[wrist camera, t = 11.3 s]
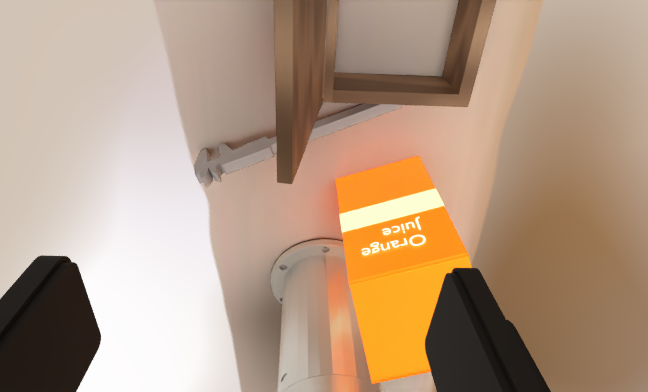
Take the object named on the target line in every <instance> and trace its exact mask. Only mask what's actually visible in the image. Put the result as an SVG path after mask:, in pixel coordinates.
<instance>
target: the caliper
mask: <svg viewBox="0 0 648 392" xmlns="http://www.w3.org/2000/svg"><path fill="white" fill-rule="evenodd" d="M399 108H401V105H393V104H362V105H359V106H356V107H354V108H351V109H348V110H346V111H343V112H340V113H338V114H335V115H332V116H329V117H327V118H324V119H321V120H318V121H316V122H315V124H314V127H313V129H312V132H311V135H310V137H309V140H308V142H309V141H312V140H315V139H317V138H320V137H323V136H326V135H328V134H331V133H334V132H337V131H339V130H342V129H345V128H347V127H350V126H353V125H356V124H358V123H361V122H364V121H366V120H369V119H372V118H374V117H377V116H380V115H383V114H385V113H388V112H391V111H393V110H396V109H399ZM218 150H219V155H220V157H218V158H215V159H212V160H211V158H210V155H209V153H208V151H207V149H206V148H205V149H203V150H201V151H200V153H199V155H198V158H197V160H196V162H195V165H194V168H195V175H196V177H197V179H198V180H199V182H200V183H203V182H204V183H205V185H206V187H208V186H209V185H210V184H211V182H212V181H213V177H214V179H215V180H216V181H218V182H221V177H220V176H221V175H222V173H225V174H229V173H232V172H235V171H237V170H240V169H243V168H245V167H248V166H251V165H253V164H256V163H259V162H261V161H264V160H266V159H269V158H272V157H274V154H277V139H276V136H275V137H272V138H269V139H268V138H267V136H265V137H262V138H260V139H258V140H256V141H251V142H249V143H247V144H245V145H243V146H241V147H240V148H238V149H235V150H232V149H231V148H229V147H228V146H227V145H226V144H224V143H221V144H219V147H218Z"/></svg>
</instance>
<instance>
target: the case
mask: <svg viewBox="0 0 648 392" xmlns="http://www.w3.org/2000/svg"><path fill="white" fill-rule="evenodd" d="M495 4H496V0H459V3H458V8H457V12H456V17H455V21H454V26H453V31H452V35H451V40H450V44H449V49H448V53H447V58H446V63H445V67H444V72H443V76H442V77H438V76H412V75H385V74H358V73H334V68H335V53H336V37H337V22H338V7H339V0H274V32H275V85H276V139H277V182H278V183H287V184H292V183H293V180H294V177H295V175H296V172H297V169H298V167H299V164H300V161H301V159H302V156H303V153H304V151H305V148H306V145H307V143H308V140H309V137H310V135H311V132H312V129H313V127H314V124H315V121H316V119H317V116H318V113H319V111H320V108H321V105H322V102H332V103H363V104H393V105H424V106H454V107H468V105H469V101H470V97H471V94H472V90H473V86H474V82H475V79H476V75H477V71H478V67H479V64H480V60H481V56H482V52H483V49H484V45H485V41H486V37H487V34H488V30H489V26H490V22H491V19H492V15H493V11H494V7H495Z"/></svg>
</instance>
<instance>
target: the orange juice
mask: <svg viewBox="0 0 648 392" xmlns="http://www.w3.org/2000/svg"><path fill="white" fill-rule="evenodd" d="M336 186H337V194H338V202H339V210H340V222H341V230H342V234H343V241H344V249H345V257H346V265H347V273H348V281H349V286H350V289H351V293H352V297H353V302H354V306H355V311H356V315H357V319H358V324H359V328H360V333H361V337H362V341H363V346H364V350H365V355H366V359H367V363H368V368H369V372H370V377H371V381H372V384H374V383H379V382H383V381H388V380H393V379H398V378H403V377H407V376H412V375H417V374H422V373H427V372H431V369H430V366H429V362H428V359H427V356H426V352H425V338H426V335H427V332H428V328H429V325H430V322H431V319H432V316H433V312H434V309H435V306H436V303H437V300H438V297H439V293H440V290H441V287H442V284H443V281H444V277H445V275H446V274H447V273H451V272H452V270H453V269H454V268H472V267H471V264H470V260H469V255H468V253H467V251H466V249H465V247H464V245H463V243H462V241H461V239H460V237H459V235H458V233H457V231H456V229H455V227H454V225H453V223H452V221H451V219H450V217H449V215H448V213H447V211H446V209H445V206H444V204H443V202H442V200H441V198H440V196H439V194H438V192H437V190H436V188H435V187H434V185H433V183H432V181H431V179H430V177H429V175H428V173H427V171H426V169H425V167H424V165H423V163H422V161H421V159H420V157H419V156H416V157H413V158H409V159H406V160H402V161H399V162H395V163H392V164H388V165H384V166H381V167H377V168H374V169H370V170H367V171H363V172H360V173H356V174H352V175H349V176H345V177H342V178H338V179H336Z"/></svg>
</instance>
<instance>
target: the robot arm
mask: <svg viewBox="0 0 648 392" xmlns="http://www.w3.org/2000/svg"><path fill="white" fill-rule="evenodd" d="M271 289H272V292H273V295H274V296H275V298H276V300H277V301H278V302H279V303H280V304H281V305H282V319H281V337H280V355H279V373H278V391H277V392H381V387H380V382H379V383H374V384H372V381H371V377H370V372H369V368H368V363H367V359H366V355H365V350H364V346H363V341H362V337H361V333H360V328H359V324H358V319H357V315H356V311H355V306H354V302H353V297H352V293H351V289H350V286H349V281H348V273H347V265H346V257H345V249H344V242H342V241H337V240H329V239H320V240H311V241H307V242H303V243H301V244H298V245H296V246H294V247H292V248H290V249H289V250H287V251H286V252H284V253H283V254H282V255H281V256H280V257H279V258H278V260H277V261H276V263H275V264H274V266H273V269H272V272H271ZM100 341H101V334H100V331H99V328H98V325H97V322H96V319H95V316H94V313H93V310H92V307H91V304H90V301H89V298H88V295H87V292H86V289H85V286H84V283H83V280H82V278H81V274H80V272H79V268H78V266H77V264H76V263H73V262H71V260H70V259H69V258H68V257H66V256H39V257H37V258H36V259H35V260H34V261H33V262H32V263H31V265H30V266H29V267H28V268H27V269H26V270H25V271H24V273H23V274H22V275H21V276H20V277H19V278H18V279H17V281H16V282H15V283H14V284H13V285H12V287H10V289H9V290H8V291H7V292H6V293H5V294H4V295H3V297H2V298H1V299H0V392H76V390H77V389H78V387H79V385H80V383H81V381H82V379H83V377H84V375H85V373H86V371H87V370H88V368H89V366H90V364H91V361H92V360H93V358H94V356H95V354H96V352H97V350H98V348H99V345H100ZM425 352H426V356H427V359H428V362H429V366H430V369H431V373H432V376H433V379H434V383H435V386H436V389H437V392H551V391H550V389H549V388H548V386H547V384H546V382H545V380H544V378H543V377H542V375H541V373H540V371H539V369H538V368H537V366H536V364H535V362H534V360H533V359H532V357H531V355H530V353H529V351H528V350H527V348H526V346H525V344H524V342H523V340H522V339H521V337H520V335H519V333H518V331H517V330H516V328H515V327H514V325H513V324H512V323H511V322H510V321H509V320H506V319H505V317H504V315H503V313H502V312H501V310H500V308H499V306H498V304H497V302H496V300H495V299H494V297H493V295H492V293H491V291H490V290H489V287H488V286H487V284H486V282H485V280H484V278H483V276H482V274H481V273H480V271H479V270H478V269H477V268H454V269H453V270H452V272H451V273H447V274H446V275H445V277H444V281H443V284H442V287H441V290H440V293H439V297H438V300H437V303H436V306H435V309H434V312H433V316H432V319H431V322H430V325H429V328H428V332H427V335H426V338H425Z"/></svg>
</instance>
